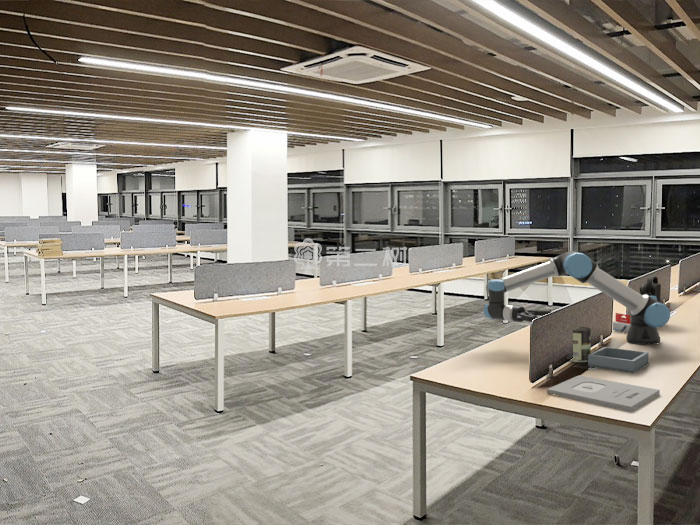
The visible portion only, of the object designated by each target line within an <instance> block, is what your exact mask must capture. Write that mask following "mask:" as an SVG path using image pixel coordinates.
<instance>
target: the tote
mask: <svg viewBox="0 0 700 525" xmlns="http://www.w3.org/2000/svg"><path fill="white" fill-rule="evenodd" d="M649 356H650V354H649V351H648V352H647V351H639V350H632V349H624V348H616V347H608V346H603V347H601V348H600V349H598V350H595V351H593V352H591V354H589V355H588V362H587V367H590V368H595V367H597V369H603V370H607V371H608V370H611V371H616V372H622V373H629V374H635V373H637V372H639V371H640V370H641V369H643V368H644V366H645V367H646V366H648V365H649V360H650V359H649V358H650V357H649ZM647 364H648V365H647Z"/></svg>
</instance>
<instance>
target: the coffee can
mask: <svg viewBox="0 0 700 525" xmlns="http://www.w3.org/2000/svg"><path fill="white" fill-rule="evenodd" d="M579 327H580V328H578V329H576V330H573V358H572V360H571V361H570V362H575V363H588V355H589V354H591V353H592V351H591V350H592V349H591V347H592V346H591V345H592V344H591V338H592V336H591V331H592V329H591V328H590V327H587V326H579Z"/></svg>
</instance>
